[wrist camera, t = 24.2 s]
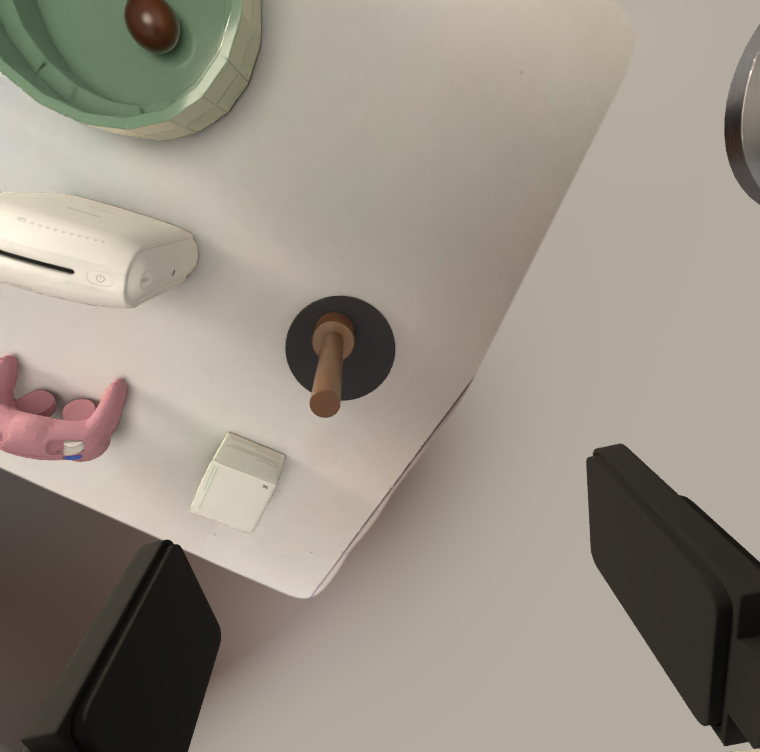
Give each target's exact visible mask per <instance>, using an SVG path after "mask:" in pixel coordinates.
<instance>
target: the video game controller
mask: <svg viewBox="0 0 760 752" xmlns="http://www.w3.org/2000/svg"><path fill="white" fill-rule="evenodd" d="M17 373H18V363H17V359H16V358H15V357H14V356H12V355H6V356H3V357H1V358H0V450H3V451H5V452H7V453H10V454H14V455H17V456H21V457H26V458H32V459H39V460H73V461H78V462H83V461H90V460H93V459H95V458H97V457H99V456H100V455H102V454H103V453H104V452H105V451H106V450H107V448H108V446H109V444H110V437H111V436H112V434H113V433H114V430H115V428H116V426H117V424H118V422H119V419H120V416H121V414H122V411H123V408H124V404H125V400H126V394H127V385H126V383H125V382H124V381H123V380H121V379H117V380H115V381H114V382H113V383H111V384H110V386H109V387H108V388H107V389H106V390H105V393H104V395H103V397H102V399H101V401H100V403H99V405H98V407H97V409H96V408H95V406H94V403H93V402H91V401H89V400H86V399H78V400H73V401H71V402H69V403H68V404H67V405H66V406H65V407H64V409H63V414H62V415H63V418H64V420H60V419H55V418H50V416H51V415H52V414H53V413H54V412H55V410H56V407H57V404H56V401H55V398H54V396H53V395H52V394H51V393H49V392H47V391H41V390H38V391H33V392H31V393H29V394H27V395H25V396H24V397H22V398H20V399H18V400H15V399H14V388H15V384H16V380H17Z"/></svg>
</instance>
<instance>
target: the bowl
mask: <svg viewBox="0 0 760 752" xmlns="http://www.w3.org/2000/svg"><path fill="white" fill-rule="evenodd" d="M166 1H167V2H168V3H169V5H170V6H171V7H172V9H173V10H174V12H175V14H176V16H177V19H178V22H179V29H180V33H179V39H178V42H177V44H176V45H175V47H174V48H173V49H172V50H171V51H169V52H167V53H163V54H156V53H152V52H149V51H147V50H145V49H143V48H142V47H141V46H139V45H138V44H137V43H136V42H135V41H134V39H133V38H132V37H131V35H130V33H129V31H128V29H127V27H126V24H125V19H124V9H125V5H126V2H127V0H0V72H1V73H3V74H4V75H5V76H6V77H8V78H9V79H10V80H11V81H12V82H14V83H15V84H16V85H17V86H18V87H20V88H21V89H22V90H23V91H25V92H26V93H27V94H28V95H29V96H31V97H32V98H33V99H34V100H35V101H37V102H38V103H40V104H41V105H43V106H45V107H47V108H49V109H52V110H54V111H56V112H58V113H60V114H63V115H65V116H67V117H69V118H71V119H74V120H76V121H78V122H80V123H82V124H85V125H89V126H92V127H96V128H100V129H103V130H107V131H111V132H115V133H118V134H122V135H126V136H131V137H139V138H147V139H154V140H169V139H173V138H178V137H182V136H187V135H191V134H195V133H197V132H200V131H201V130H203V129H204V128H206V127H207V126H209V125H210V124H212V123H213V122H215V121H216V120H218V119H219V118H221V117H222V116H224V115H225V114H226V113H227V112H228V111H229V110H230V108H231V107H232V106H233V104H234V103H235V101H236V100H237V99H238V97H239V96H240V94H241V93H242V92H243V90H244V89H245V87H246V86H247V84H248V82H249V80H250V77H251V73H252V70H253V67H254V64H255V60H256V57H257V54H258V50H259V47H260V42H261V0H166Z"/></svg>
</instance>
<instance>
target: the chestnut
mask: <svg viewBox="0 0 760 752" xmlns="http://www.w3.org/2000/svg"><path fill="white" fill-rule="evenodd" d="M124 19H125V24H126V27H127V29H128V31H129V33H130V35H131V37H132V38H133V39H134V41H135V42H136V43H137V44H138V45H139V46H141V47H142V48H143V49H145V50H147V51H149V52H152V53H156V54H163V53H167V52H169V51H171V50H172V49H173V48H174V47H175V45H176V44H177V42H178V39H179V33H180V29H179V22H178V19H177V16H176V14H175V12H174V10H173V9H172V7H171V6H170V5H169V3H168V2H167V1H166V0H127V2H126V5H125V9H124Z"/></svg>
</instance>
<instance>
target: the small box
mask: <svg viewBox="0 0 760 752" xmlns="http://www.w3.org/2000/svg"><path fill="white" fill-rule="evenodd" d="M284 460H285V455H283V454H281V453H278V452H276V451H274V450H271V449H269V448H266V447H264V446H262V445H259V444H257V443H254V442H252V441H249V440H247V439H244V438H242V437H240V436H237V435H235V434H232V433H227V434H226V436H225V438H224V440H223V441H222V443H221V445H220V447H219V449H218V450H217V452H216V454H215V456H214V457H213V459H212V461H211V462H210V464H209V466H208V468H207V470H206V473H205V475H204V477H203V479H202V482H201V484H200V486H199V488H198V491H197V493H196V496H195V498H194V500H193V503H192V505H191V508H190V512H192V513H195V514H197V515H200V516H202V517H205V518H208V519H210V520H213V521H216V522H219V523H222V524H225V525H227V526H230V527H233V528H235V529H238V530H241V531H243V532H246V533H248V534H252V533H253V532H254V530H255V528H256V526H257V525H258V523H259V521H260V519H261V516H262V514H263V512H264V510H265V508H266V506H267V504H268V503H269V501H270V499H271V497H272V495H273V493H274V490H275V488H276V486H277V484H278V481H279V477H280V474H281V470H282V467H283V463H284Z"/></svg>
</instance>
